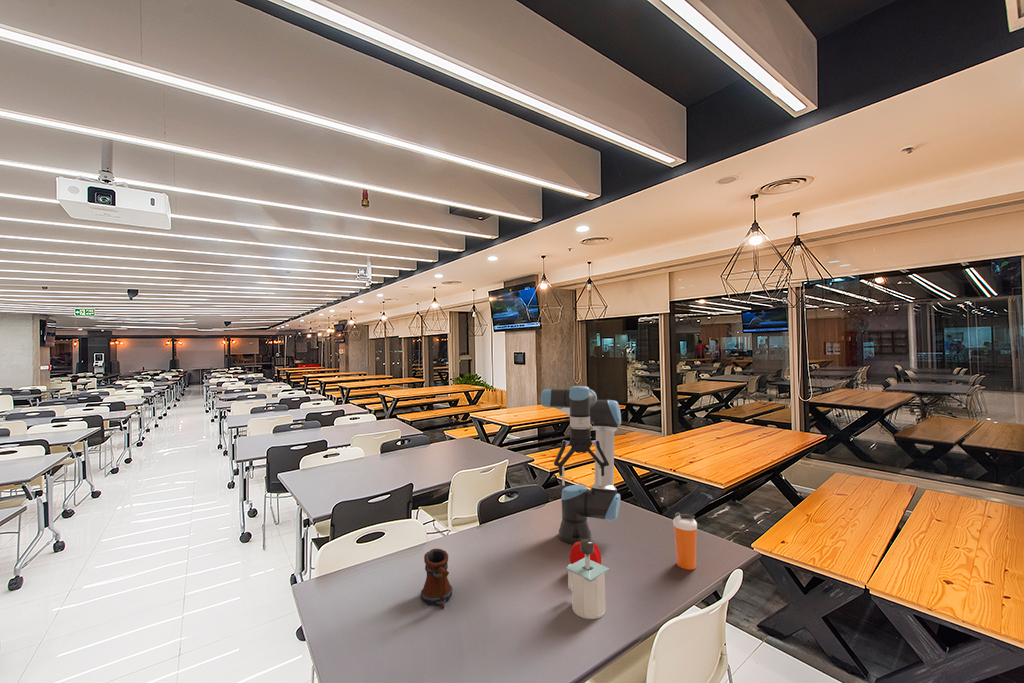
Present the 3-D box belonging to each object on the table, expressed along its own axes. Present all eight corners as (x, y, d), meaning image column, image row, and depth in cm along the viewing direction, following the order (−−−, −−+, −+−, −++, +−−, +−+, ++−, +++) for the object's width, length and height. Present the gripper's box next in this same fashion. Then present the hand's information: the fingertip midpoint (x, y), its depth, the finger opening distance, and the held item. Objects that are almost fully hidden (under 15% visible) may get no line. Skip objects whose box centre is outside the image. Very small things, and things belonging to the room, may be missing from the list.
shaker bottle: (701, 572, 156) (699, 519, 157) (676, 570, 158) (675, 518, 159) (695, 560, 165) (693, 511, 166) (672, 558, 167) (670, 510, 168)
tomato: (605, 582, 151) (604, 546, 151) (573, 584, 150) (572, 547, 150) (597, 566, 162) (596, 532, 163) (567, 567, 161) (566, 534, 162)
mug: (462, 611, 135) (462, 565, 136) (428, 621, 130) (428, 573, 131) (447, 584, 151) (447, 543, 152) (417, 592, 146) (416, 550, 147)
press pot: (559, 604, 138) (558, 564, 138) (580, 591, 145) (579, 553, 145) (591, 624, 127) (590, 580, 128) (612, 609, 134) (611, 568, 135)
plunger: (572, 597, 136) (571, 541, 136) (586, 588, 140) (585, 534, 141) (590, 607, 130) (588, 549, 131) (604, 597, 135) (603, 541, 135)
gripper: (547, 429, 149) (548, 487, 148) (615, 429, 147) (617, 487, 146) (546, 425, 156) (548, 481, 155) (612, 425, 154) (613, 481, 153)
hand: (581, 484), depth 151 cm, fingers open, 13 cm apart
